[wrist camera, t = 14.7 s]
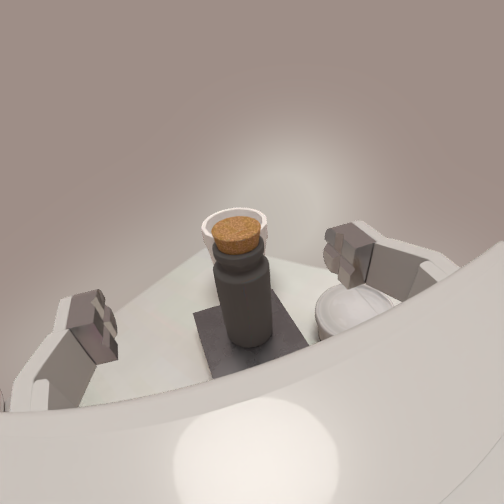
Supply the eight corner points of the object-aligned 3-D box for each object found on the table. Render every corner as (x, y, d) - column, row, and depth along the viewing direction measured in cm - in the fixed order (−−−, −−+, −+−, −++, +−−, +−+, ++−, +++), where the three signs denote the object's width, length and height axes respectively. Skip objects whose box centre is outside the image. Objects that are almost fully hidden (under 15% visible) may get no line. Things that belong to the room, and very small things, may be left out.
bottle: (261, 308, 38) (252, 208, 29) (280, 338, 33) (277, 233, 25) (221, 322, 36) (199, 222, 28) (236, 354, 32) (213, 251, 23)
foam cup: (233, 267, 52) (223, 204, 45) (279, 278, 49) (276, 211, 41) (205, 300, 46) (188, 233, 38) (255, 316, 42) (248, 245, 34)
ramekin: (396, 323, 37) (406, 298, 34) (369, 379, 31) (380, 356, 28) (334, 297, 44) (338, 272, 41) (298, 344, 37) (299, 320, 34)
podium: (220, 398, 31) (214, 383, 28) (199, 331, 40) (192, 313, 38) (309, 366, 34) (311, 349, 31) (273, 307, 43) (272, 288, 41)
